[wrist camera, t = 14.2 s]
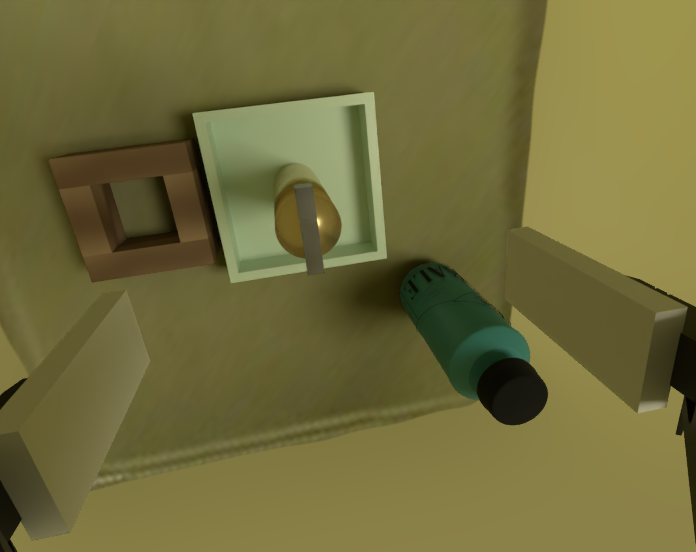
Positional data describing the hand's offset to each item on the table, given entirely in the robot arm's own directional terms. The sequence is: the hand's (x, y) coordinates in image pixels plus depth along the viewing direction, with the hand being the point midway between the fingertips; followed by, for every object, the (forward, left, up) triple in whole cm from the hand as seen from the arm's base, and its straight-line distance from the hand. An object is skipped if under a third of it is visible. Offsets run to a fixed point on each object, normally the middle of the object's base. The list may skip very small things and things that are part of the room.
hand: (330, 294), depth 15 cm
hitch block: (+1, -13, -27) cm, 30 cm away
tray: (+1, 0, -27) cm, 27 cm away
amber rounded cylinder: (+1, 0, -26) cm, 26 cm away
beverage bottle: (+13, +11, -27) cm, 32 cm away
